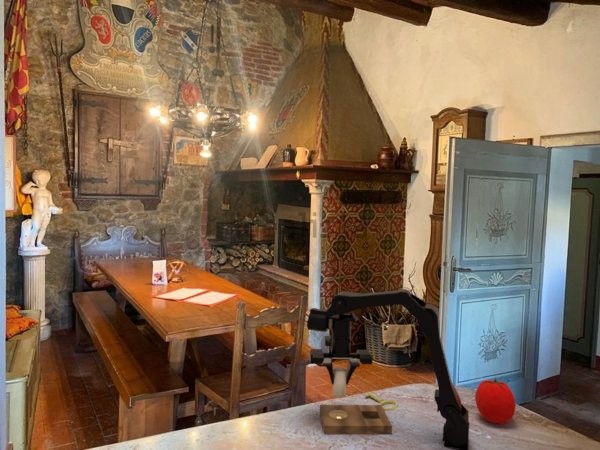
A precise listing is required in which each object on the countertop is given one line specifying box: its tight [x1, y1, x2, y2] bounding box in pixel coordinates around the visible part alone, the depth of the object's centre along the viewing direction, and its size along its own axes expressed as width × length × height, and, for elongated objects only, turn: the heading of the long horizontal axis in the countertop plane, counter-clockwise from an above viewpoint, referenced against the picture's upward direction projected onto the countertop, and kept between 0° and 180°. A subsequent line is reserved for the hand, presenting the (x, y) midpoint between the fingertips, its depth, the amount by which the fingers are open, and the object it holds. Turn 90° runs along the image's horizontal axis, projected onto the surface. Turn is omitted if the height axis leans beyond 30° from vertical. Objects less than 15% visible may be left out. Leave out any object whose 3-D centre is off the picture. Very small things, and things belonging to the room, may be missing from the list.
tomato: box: [474, 377, 517, 425], centre depth 149 cm, size 12×12×13 cm
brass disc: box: [329, 410, 348, 419], centre depth 145 cm, size 6×6×1 cm
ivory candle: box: [332, 366, 347, 399], centre depth 145 cm, size 4×4×8 cm
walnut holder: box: [319, 404, 393, 435], centre depth 146 cm, size 20×14×2 cm
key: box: [363, 391, 399, 412], centre depth 160 cm, size 7×12×2 cm, turn 54°
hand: (339, 384), depth 145 cm, fingers closed on ivory candle, 4 cm apart
